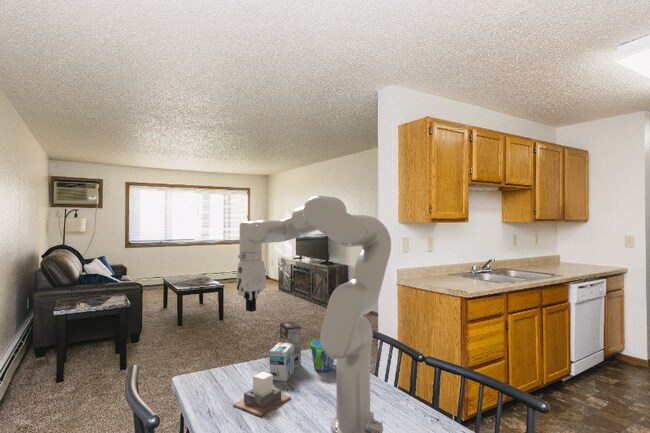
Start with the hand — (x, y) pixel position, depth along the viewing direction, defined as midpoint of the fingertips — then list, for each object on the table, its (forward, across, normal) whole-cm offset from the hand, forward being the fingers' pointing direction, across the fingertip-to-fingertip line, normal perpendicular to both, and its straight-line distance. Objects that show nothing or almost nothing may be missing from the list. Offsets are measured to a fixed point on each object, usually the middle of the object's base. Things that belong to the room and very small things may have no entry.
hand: (250, 310), depth 124 cm
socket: (+28, -2, -7) cm, 29 cm away
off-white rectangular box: (+28, -2, -7) cm, 29 cm away
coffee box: (+28, +29, +6) cm, 41 cm away
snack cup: (+28, +32, -8) cm, 43 cm away
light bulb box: (+28, +18, +2) cm, 34 cm away
